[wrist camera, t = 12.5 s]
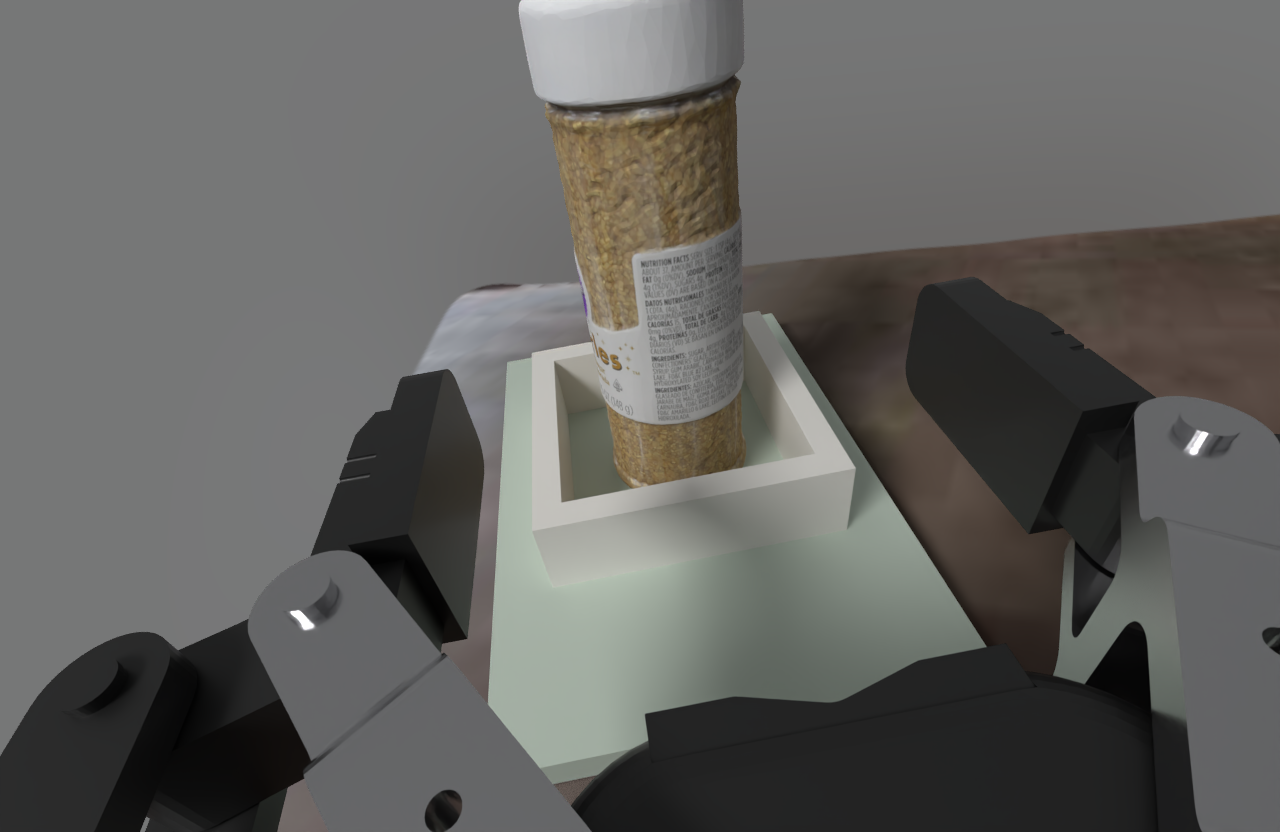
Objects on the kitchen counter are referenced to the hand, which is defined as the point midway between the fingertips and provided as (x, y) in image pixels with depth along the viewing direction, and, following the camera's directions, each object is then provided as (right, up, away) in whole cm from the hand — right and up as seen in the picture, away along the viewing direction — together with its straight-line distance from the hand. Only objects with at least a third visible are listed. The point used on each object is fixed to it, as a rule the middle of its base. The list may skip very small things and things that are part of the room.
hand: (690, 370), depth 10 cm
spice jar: (+1, -2, +10) cm, 10 cm away
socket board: (0, -3, +11) cm, 11 cm away
